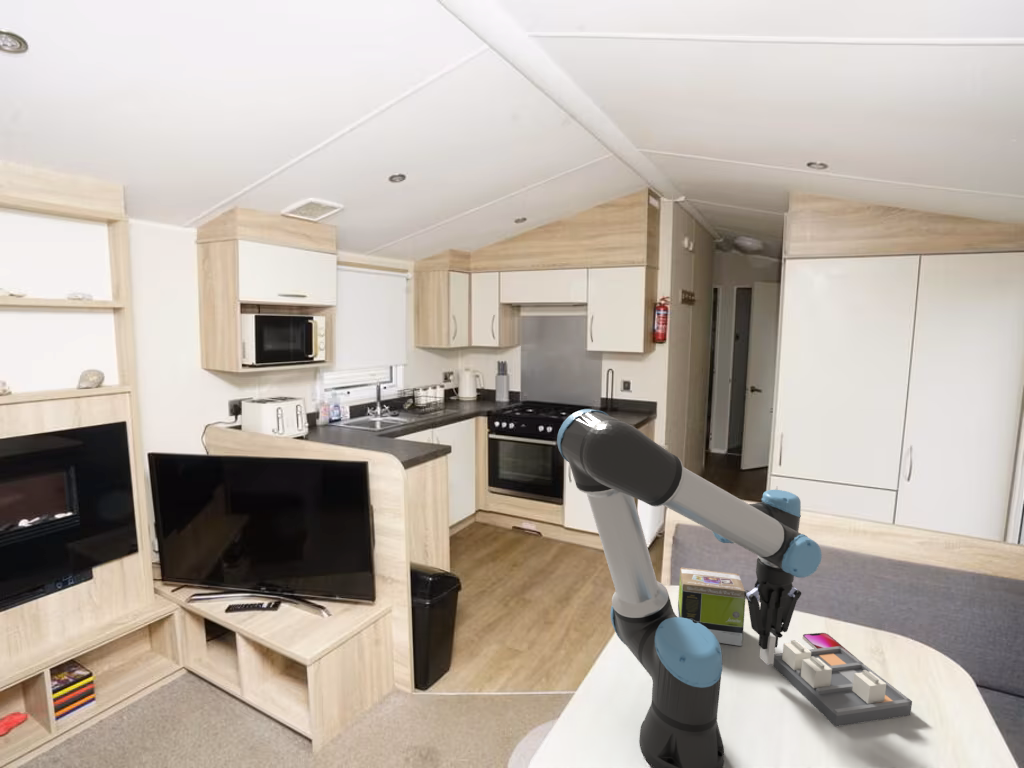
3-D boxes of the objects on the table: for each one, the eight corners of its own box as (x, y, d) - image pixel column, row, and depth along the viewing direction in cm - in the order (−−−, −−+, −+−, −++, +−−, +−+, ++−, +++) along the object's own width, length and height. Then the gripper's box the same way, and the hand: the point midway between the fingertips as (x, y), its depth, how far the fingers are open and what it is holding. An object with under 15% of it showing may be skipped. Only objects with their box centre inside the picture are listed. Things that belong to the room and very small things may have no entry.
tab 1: (794, 670, 123) (796, 650, 122) (782, 659, 127) (784, 640, 126) (809, 668, 124) (811, 648, 123) (797, 657, 128) (799, 638, 127)
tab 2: (813, 688, 117) (816, 667, 117) (800, 676, 121) (802, 656, 120) (830, 686, 118) (832, 665, 117) (816, 674, 122) (818, 654, 121)
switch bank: (835, 726, 110) (837, 712, 110) (772, 666, 128) (774, 653, 128) (910, 715, 114) (912, 701, 113) (838, 658, 132) (840, 646, 132)
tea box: (735, 625, 145) (740, 572, 143) (742, 648, 135) (747, 591, 133) (676, 617, 148) (680, 565, 146) (678, 638, 139) (682, 583, 137)
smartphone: (844, 673, 126) (800, 634, 141) (843, 677, 126) (800, 637, 141) (872, 671, 127) (826, 632, 142) (872, 674, 127) (825, 635, 142)
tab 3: (867, 703, 113) (870, 682, 112) (852, 690, 117) (854, 669, 116) (884, 701, 114) (886, 680, 113) (868, 688, 118) (870, 667, 117)
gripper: (760, 571, 115) (751, 674, 119) (814, 566, 118) (803, 667, 121) (738, 555, 123) (730, 653, 126) (789, 551, 125) (780, 647, 129)
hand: (766, 660), depth 124 cm, fingers closed
